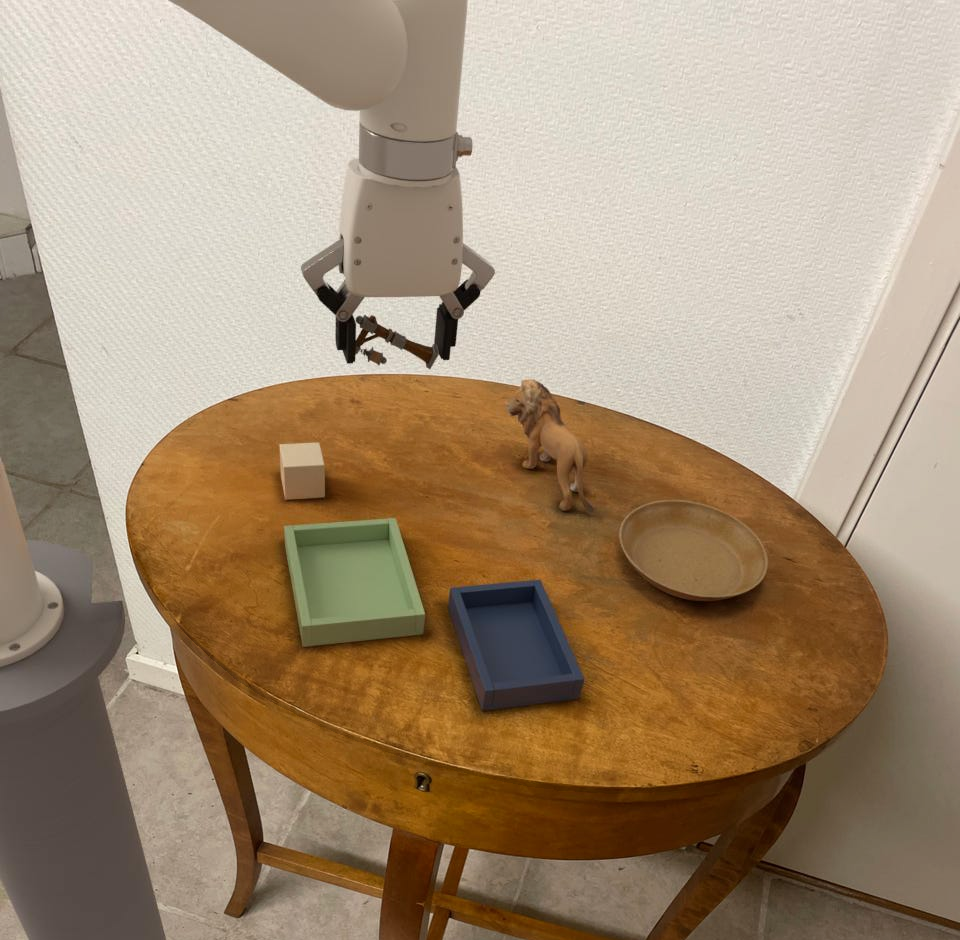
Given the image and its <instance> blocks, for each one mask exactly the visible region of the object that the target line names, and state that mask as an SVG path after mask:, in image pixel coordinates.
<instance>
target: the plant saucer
mask: <svg viewBox="0 0 960 940" xmlns="http://www.w3.org/2000/svg"><path fill="white" fill-rule="evenodd" d="M618 537H619V543H620V547H621V548H622V551H623V553H624V555H625V558H626V559H627V561H628V562H629V563H630V565H631V567H633V569H634V570H635V571H636V572H637V573H638V574H639V576H641V577H642V578H643V579H644V580H645V581H646V582H648V583H649V584H650V585H652V586H653V587H654V588H656V589H657V590H659V591H661V592H663V593H665V594H668V595H671V596H673V597H675V598H676V597H677V598H679V599H684V600H686V601H687V600H689V601H695V602H712V601H713V602H715V601H722V600H727V599H731V598H734V597H737V596H740V595H743V594H745V593H747V592H749V591H751V590H753V589H754V588H756V586H758V585H759V584H760V583H761V582H762V581H763V580H764V578H765V576H766V574H767V571H768V567H769V558H768V554H767V550H766V548H765V546H764V543H763V542H762V540H760V538H759V536H757V534H756V533H755V532H754V531H753V530H752V529H751V528H750V527H749V526H748V525H747V524H745V523H744V522H743V521H741V520H740V519H738V518H737V517H735V516H733V515H731V514H730V513H728V512H726V511H723V510H721V509H719V508H716V507H714V506H711V505H707V504H704V503H699V502H696V501H690V500H684V499H682V500H681V499H665V500H664V499H663V500H655V501H652V502H647V503H644V504H643V505H640V506H637V507H636V508H634V509H633V510H631V511H629V513H628V514H627V515H626V516H625V518H624V519H623V520H622V522H621V523H620V527H619V533H618Z"/></svg>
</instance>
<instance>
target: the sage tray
mask: <svg viewBox="0 0 960 940" xmlns="http://www.w3.org/2000/svg"><path fill="white" fill-rule="evenodd" d="M283 530H284V531H283V532H284V549H285V552H286V560H287V564H288V565H287V566H288V571H289V577H290V583H291V587H292V594H293V599H294V607H295V610H296V618H297V622H298V628H299V633H300V640H301V645H302V648H305V647H314V646H315V647H316V646H324V645H333V644H345V643H353V642H364V641H373V640H383V639H391V638H401V637H410V636H411V637H412V636H421V635H422V636H423V635H424V632H425V621H426V612H425V609H424V605H423V602H422V599H421V596H420V592H419V589H418V586H417V582H416V579H415V576H414V573H413V570H412V567H411V563H410V560H409V557H408V553H407V549H406V547H405V544H404V541H403V538H402V537H403V536H402V534H401V531H400V527H399V524H398V521H397V518H396V517H388V518H378V519H361V520H350V521H349V520H348V521H336V522H321V523H307V524H294V525H293V524H291V525H284V526H283Z"/></svg>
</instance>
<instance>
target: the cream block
mask: <svg viewBox="0 0 960 940" xmlns="http://www.w3.org/2000/svg"><path fill="white" fill-rule="evenodd" d="M279 465H280V466H279V467H280V479H281V483H282V490H283V496H284V500H285V501H288V500H306V499H318V498H319V499H320V498H321V499H322V498H325V497H326V470H325V469H326V467H325V466H326V465H325V461H324V456H323V453H322V449H321V444H320V442H299V443H298V442H297V443H279Z"/></svg>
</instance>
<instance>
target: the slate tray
mask: <svg viewBox="0 0 960 940" xmlns="http://www.w3.org/2000/svg"><path fill="white" fill-rule="evenodd" d="M447 611H448V613H449V616H450V619H451V622H452V625H453V628H454V631H455V634H456V637H457V640H458V643H459V646H460V649H461V652H462V655H463V658H464V661H465V664H466V667H467V669H468V673H469V676H470V679H471V682H472V685H473V688H474V691H475V695H476V697H477V700H478V704H479V706H480V709H481V711H482V712H485V711H494V710H501V709H508V708H517V707H525V706H532V705H534V706H535V705H541V704H549V703H558V702H564V701H573V700H579V699H580V697H581V693H582V690H583V686H584V684H585V683H584V682H585V677H584V675H583V672H582V670H581V668H580V665H579V663H578V661H577V659H576V657H575V654H574V652H573V650H572V647H571V645H570V643H569V641H568V638H567V637H566V634H565V631H564V630H563V627H562V625H561V623H560V619H558V616H557V613H556V610H555V608H554V607H553V604H552V602H551V600H550V598H549V596H548V593H547V591H546V589H545V586H544V584H543V582H542V580H541V579H533V580H532V579H531V580H520V581H508V582H497V583H485V584H477V585H465V586H463V585H462V586H456V587H449V593H448V602H447Z"/></svg>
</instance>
